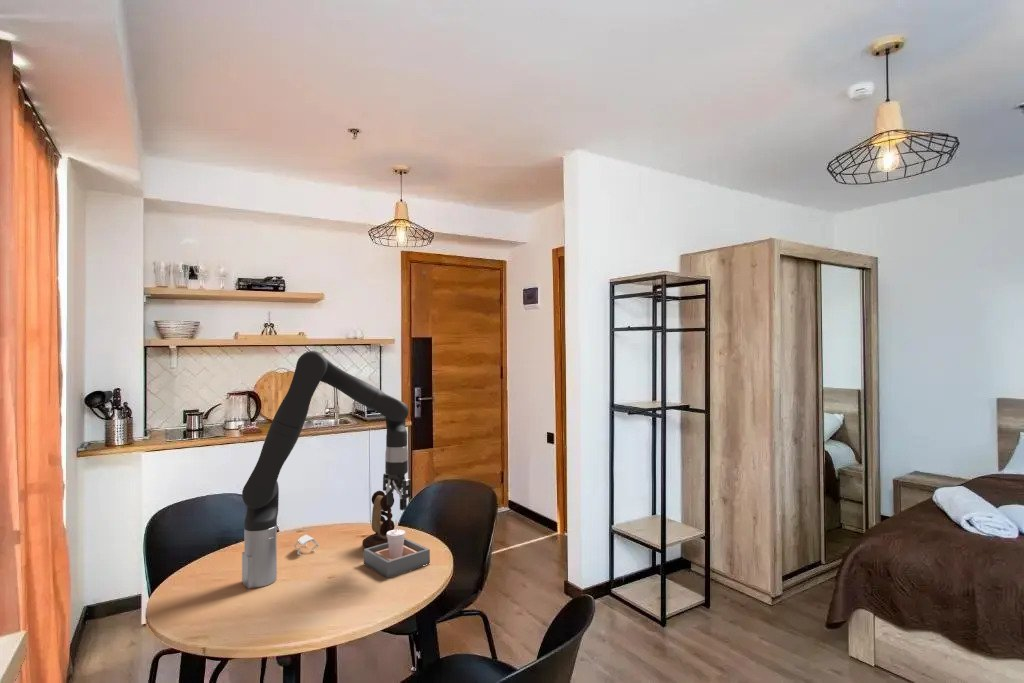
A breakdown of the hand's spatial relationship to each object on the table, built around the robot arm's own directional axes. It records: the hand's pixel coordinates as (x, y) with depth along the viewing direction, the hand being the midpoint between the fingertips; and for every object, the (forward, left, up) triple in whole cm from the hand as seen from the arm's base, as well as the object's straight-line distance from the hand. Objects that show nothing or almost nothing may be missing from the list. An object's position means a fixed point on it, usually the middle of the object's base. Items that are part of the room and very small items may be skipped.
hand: (396, 507), depth 179 cm
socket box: (0, 0, -19) cm, 19 cm away
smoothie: (0, 0, -18) cm, 18 cm away
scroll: (+5, +18, -20) cm, 27 cm away
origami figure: (-17, +34, -20) cm, 43 cm away
